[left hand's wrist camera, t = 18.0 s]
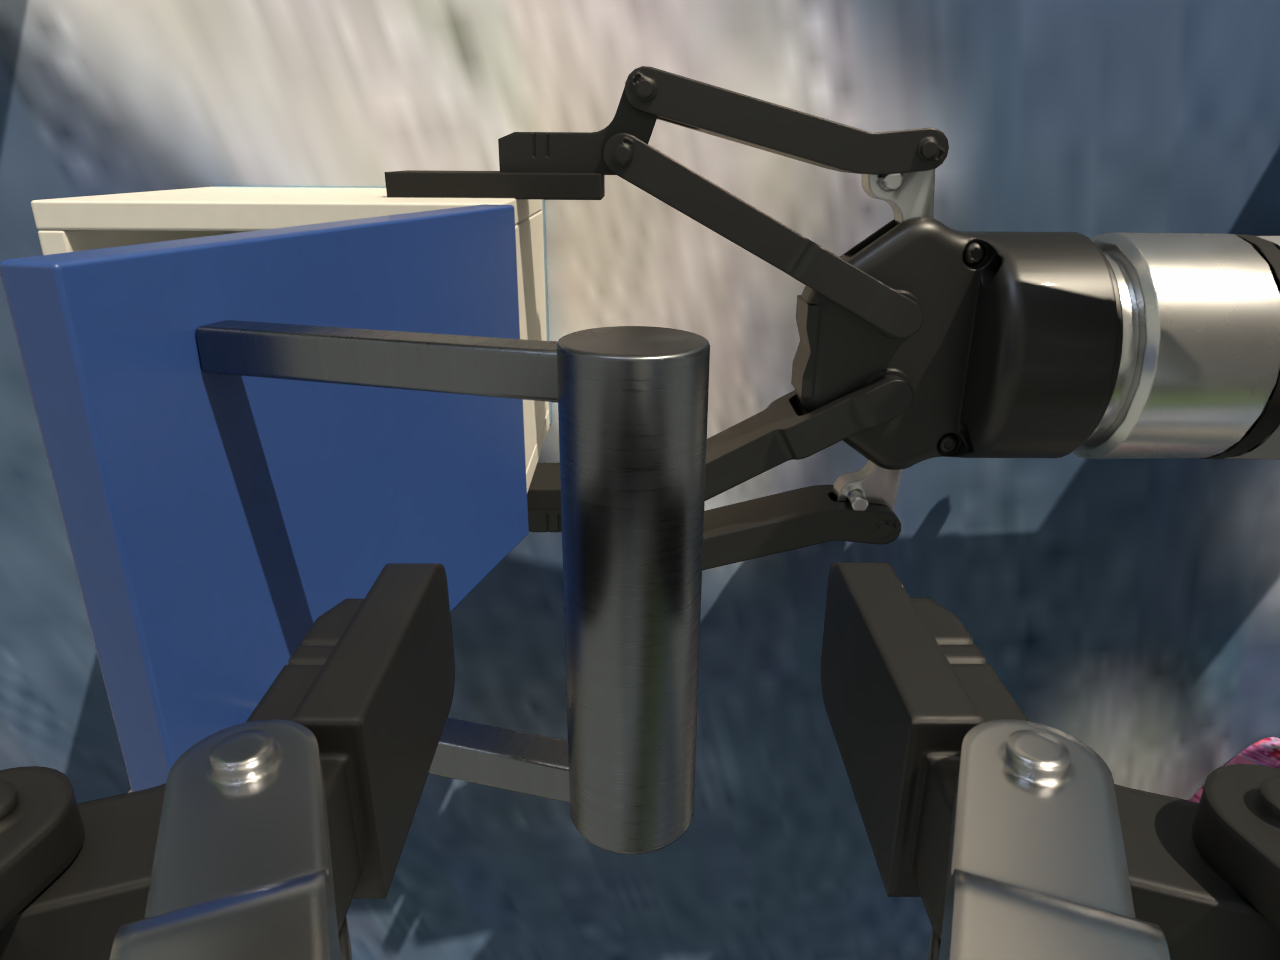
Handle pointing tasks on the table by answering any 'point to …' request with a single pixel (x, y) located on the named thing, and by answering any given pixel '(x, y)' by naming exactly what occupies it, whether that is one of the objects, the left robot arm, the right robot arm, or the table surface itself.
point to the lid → (369, 483)
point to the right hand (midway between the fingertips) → (412, 344)
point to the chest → (280, 207)
